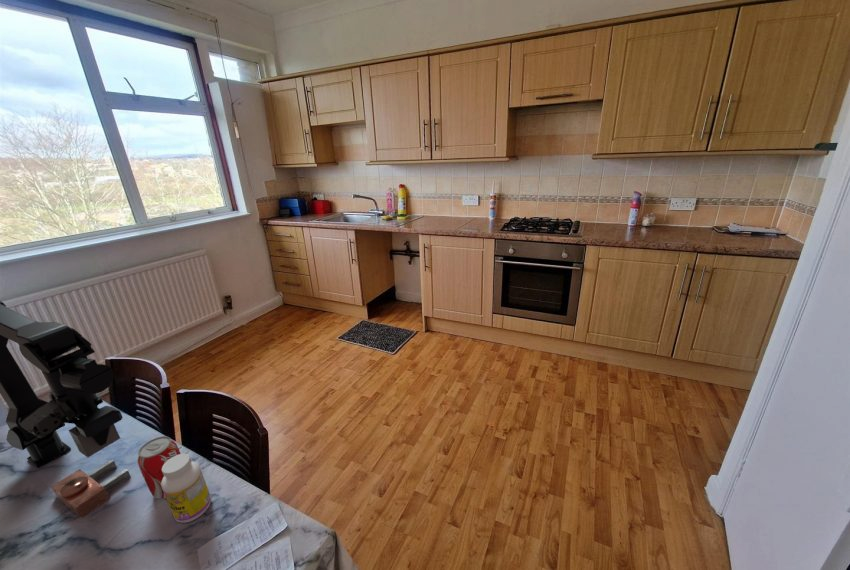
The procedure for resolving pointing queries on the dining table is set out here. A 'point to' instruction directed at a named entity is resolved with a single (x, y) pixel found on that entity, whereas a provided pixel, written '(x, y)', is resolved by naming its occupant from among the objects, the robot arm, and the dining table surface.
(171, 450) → the soda can
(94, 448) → the grey stepped block
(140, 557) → the dining table surface
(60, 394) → the robot arm
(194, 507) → the supplement bottle
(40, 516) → the dining table surface
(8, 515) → the dining table surface
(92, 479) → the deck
